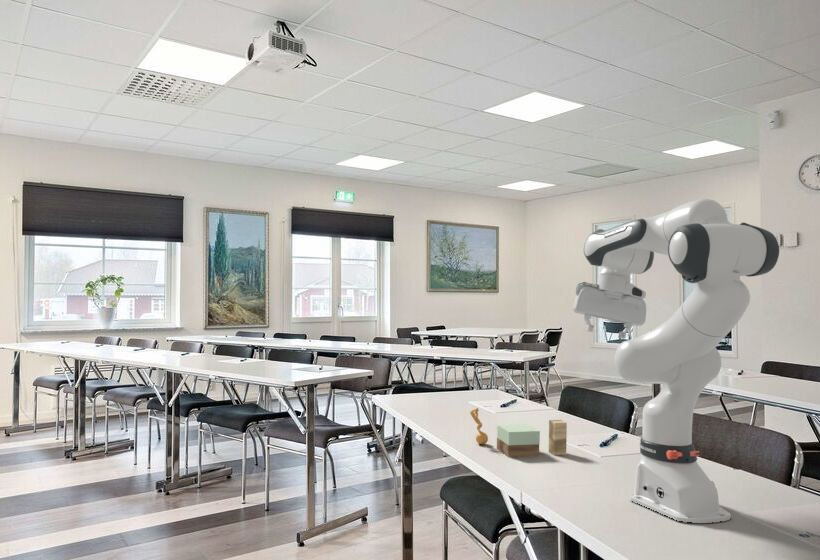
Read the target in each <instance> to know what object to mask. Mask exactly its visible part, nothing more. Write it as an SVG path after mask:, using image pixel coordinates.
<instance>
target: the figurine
mask: <svg viewBox="0 0 820 560" xmlns="http://www.w3.org/2000/svg"><path fill="white" fill-rule="evenodd" d="M479 411H480V410H479V408H478V407H476V408H473V409H471V410H470V412H469V414H470V416H471V418H473V420H474V422H475V423H476V424H477V426H476V430H477V431H478V433H477V434H476V436H475V441H476V443H477V444H479V445H482V446H483V445H486V444H487V443H488V441H489V437H488V434H487V433H486V432H484V431H482V430H480V429H481V428H482V427H483V422H481V420H480V419H479Z"/></svg>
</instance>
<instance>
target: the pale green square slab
mask: <svg viewBox="0 0 820 560" xmlns="http://www.w3.org/2000/svg"><path fill="white" fill-rule="evenodd" d="M496 425H497V426H496V431H497V432H496V433H497V434H496V439H497V438H499V439H500V440H502V441H503V442H505V443H506V444H508V445H533V444H539V445H540V444H541V442H540V441H541V437H540V436H541V433H540V430H539V429H537V428H534V427H533V426H531V425H529V424H526V423H525V424H523V423H522V424H521V423H520V424H518V423H517V424H496Z"/></svg>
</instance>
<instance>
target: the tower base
mask: <svg viewBox="0 0 820 560" xmlns="http://www.w3.org/2000/svg"><path fill="white" fill-rule="evenodd" d="M496 450H498V451H499V452H500V451H501V453H502V454H503V455H504V454H505V455H504V456H506V457H507V458H520V457H521V458H524V457H525V458H526V457H527V456H528V457H539V456H540V444H533V445H508V444H506V443H505V442H503V441H502V440H500V439H499V438H497V437H496Z"/></svg>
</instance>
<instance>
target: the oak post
mask: <svg viewBox="0 0 820 560" xmlns="http://www.w3.org/2000/svg"><path fill="white" fill-rule="evenodd" d="M567 428H568V427H567V422H566V421H565V420H562V419H549V420H548V453H549V454H551V455H553V456H566V455H567V432H568V430H567Z"/></svg>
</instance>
